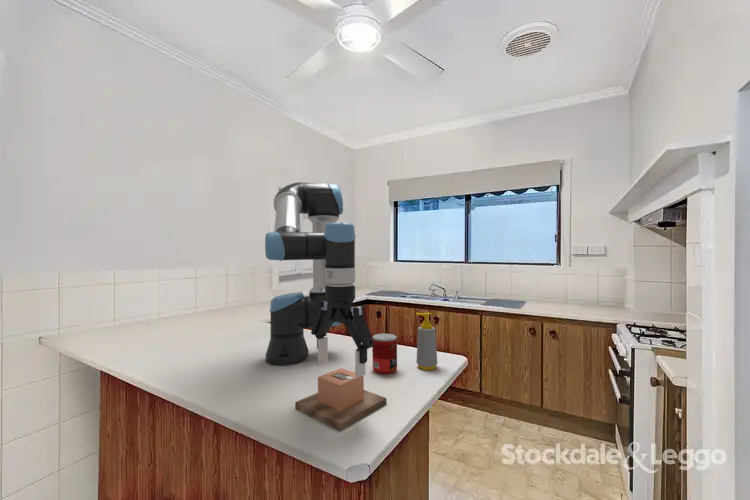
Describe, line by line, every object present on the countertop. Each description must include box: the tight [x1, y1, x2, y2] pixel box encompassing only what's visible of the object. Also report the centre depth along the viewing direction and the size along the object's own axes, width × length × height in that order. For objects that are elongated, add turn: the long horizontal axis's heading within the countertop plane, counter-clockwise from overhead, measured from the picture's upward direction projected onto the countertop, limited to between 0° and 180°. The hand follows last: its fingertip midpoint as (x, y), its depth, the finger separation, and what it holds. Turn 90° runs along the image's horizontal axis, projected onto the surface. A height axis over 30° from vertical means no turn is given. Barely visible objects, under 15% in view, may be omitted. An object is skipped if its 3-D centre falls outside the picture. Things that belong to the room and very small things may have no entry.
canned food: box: [371, 333, 398, 375], centre depth 106 cm, size 8×8×11 cm
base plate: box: [294, 373, 387, 431], centre depth 82 cm, size 16×16×8 cm
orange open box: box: [317, 367, 365, 411], centre depth 81 cm, size 8×8×6 cm
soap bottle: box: [415, 312, 438, 371], centre depth 108 cm, size 7×7×18 cm
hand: (340, 369), depth 82 cm, fingers open, 13 cm apart
